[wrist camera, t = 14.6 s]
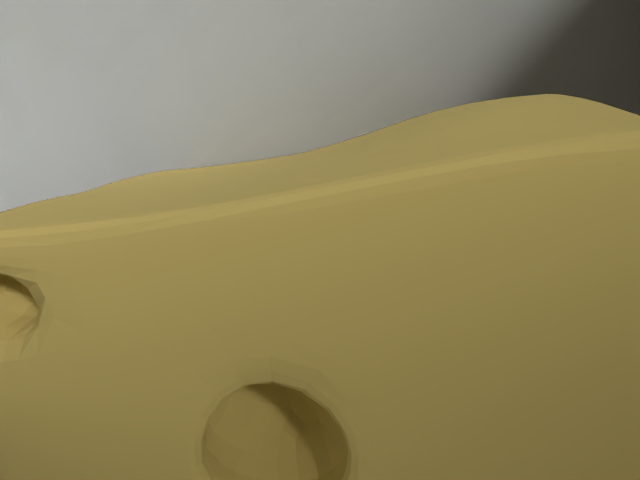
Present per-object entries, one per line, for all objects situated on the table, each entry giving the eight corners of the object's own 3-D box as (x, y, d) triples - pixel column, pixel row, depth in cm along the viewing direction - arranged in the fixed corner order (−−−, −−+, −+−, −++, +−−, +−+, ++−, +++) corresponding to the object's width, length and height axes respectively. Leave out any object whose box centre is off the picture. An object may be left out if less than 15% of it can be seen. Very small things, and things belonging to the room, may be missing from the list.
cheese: (234, 416, 18) (92, 773, 8) (171, 151, 15) (-162, 202, 5) (495, 392, 16) (701, 773, 7) (478, 102, 14) (780, 52, 4)
